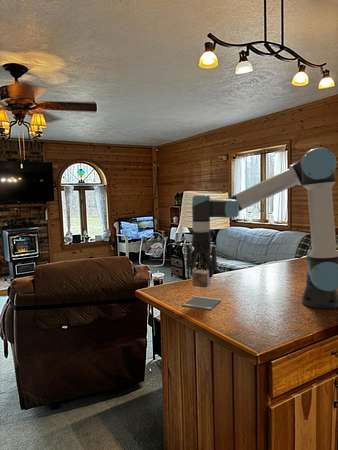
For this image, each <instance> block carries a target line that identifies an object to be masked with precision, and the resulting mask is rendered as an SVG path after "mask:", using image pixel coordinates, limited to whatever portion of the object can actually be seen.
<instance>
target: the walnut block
mask: <svg viewBox="0 0 338 450" xmlns="http://www.w3.org/2000/svg"><path fill="white" fill-rule="evenodd" d="M207 270H208V269H206V270H203V269H196V271H194V272H193V277H192V287H196V288H197V287H198V288H207V287H209V286H210V285H207Z"/></svg>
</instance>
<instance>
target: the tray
mask: <svg viewBox="0 0 338 450" xmlns="http://www.w3.org/2000/svg"><path fill="white" fill-rule="evenodd" d="M221 302H222V299H220V298H213V297H205V296H197V295H194V296H193V297H192V298H190V299H189V300H187V301H186V302H185V303H182V307H186V308H187V307H188V308H193V309H199V310H205V311H212V310H213V309H214V308H215V307H216V306H218V305H219V304H220V303H221Z"/></svg>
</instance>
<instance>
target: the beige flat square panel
mask: <svg viewBox="0 0 338 450" xmlns="http://www.w3.org/2000/svg"><path fill="white" fill-rule="evenodd" d="M220 308H221V306H217V307H216V308H215V309H216V310H219V309H220ZM221 310H223V311H229V309H227V308H221Z"/></svg>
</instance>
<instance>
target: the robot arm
mask: <svg viewBox="0 0 338 450" xmlns="http://www.w3.org/2000/svg"><path fill="white" fill-rule="evenodd" d="M337 163H338V162H337V158H336V156H335V154H334V153H333V152H332V151H331V150H330V149H328V148H324V147H315V148H312V149H309V150H308V151H307V152H305V153H304V155H302V158H301V159H299V160H298V161H296V162H293V163H292V164H290V165H289V168H287V169H285V170H283V171H281V172H279V173H277V174H274V175H273V176H271V177H269V178H267V179H265V180H263V181H260V182H258V183H257V184H255V185H252V186H250V187H248V188H246V189H245V190H242V191H239V192H238V193H236V194H234V195H232V196H230V197H228V198H225V199H211V197H210V195H207V194H203V195H202V194H200V195H199V194H197V195H196V194H195V195H193V197H192V203H191V204H192V205H191V209H192V210H191V213H192V214H191V215H192V225H191V226H192V227H191V228H192V242H191V243H188V244H186V245H185V247H186V264H185V266H186V267H187V268H190V276H192V277H191V278H193V272H194V271H196V270H197V267H196V264H197V261H198V258H199V254H200V253H201V254H203V255H204V259H205V261H206V262H205V263H206V266H207V269H206V270H207V285H209V286H211V284H212V278H213V277H214V274H213V273H214V270H216V269H217V268H218V263H217V262H218V259H217V248H218V246H217V245H213V244H212V243H211V232H210V231H211V218H228V219H231V218H237V217H238V216H239V212H241V211H243V210H245V209H247V208H249V207H251V206H253V205H254V206H255V204H257V203H259V202H260V203H261V202H262V201H264V200H266V199H268V198H271V197H273V196H274V195H275V196H276V195H277V194H280V193H281V192H283V191H286V190H289V189H290V188H292V187H294V186H296V185H298V186H302V187H303V188H305V189H306V191H307V202H308V203H307V205H308V214H309V215H308V217H309V229H310V242H311V250H308V251H307V253H306V257H305V258H306V274H305V275H306V276H305V278H306V281H305V282H306V283H305V287H304V290H303V293H302V296H301V304H303V305H304V306H307V307H310V308H313V309H317V310H318V309H320V310H333V309H334V310H335V309H338V250H337V244H336V227H335V215H334V214H335V213H334V202H333V186H334V185H335V184H336V182H337V180H336V168H337ZM193 249H194V251H193ZM209 249H210V250H211V251H209ZM192 253H193V255H192ZM210 253H211V255H210Z"/></svg>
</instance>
